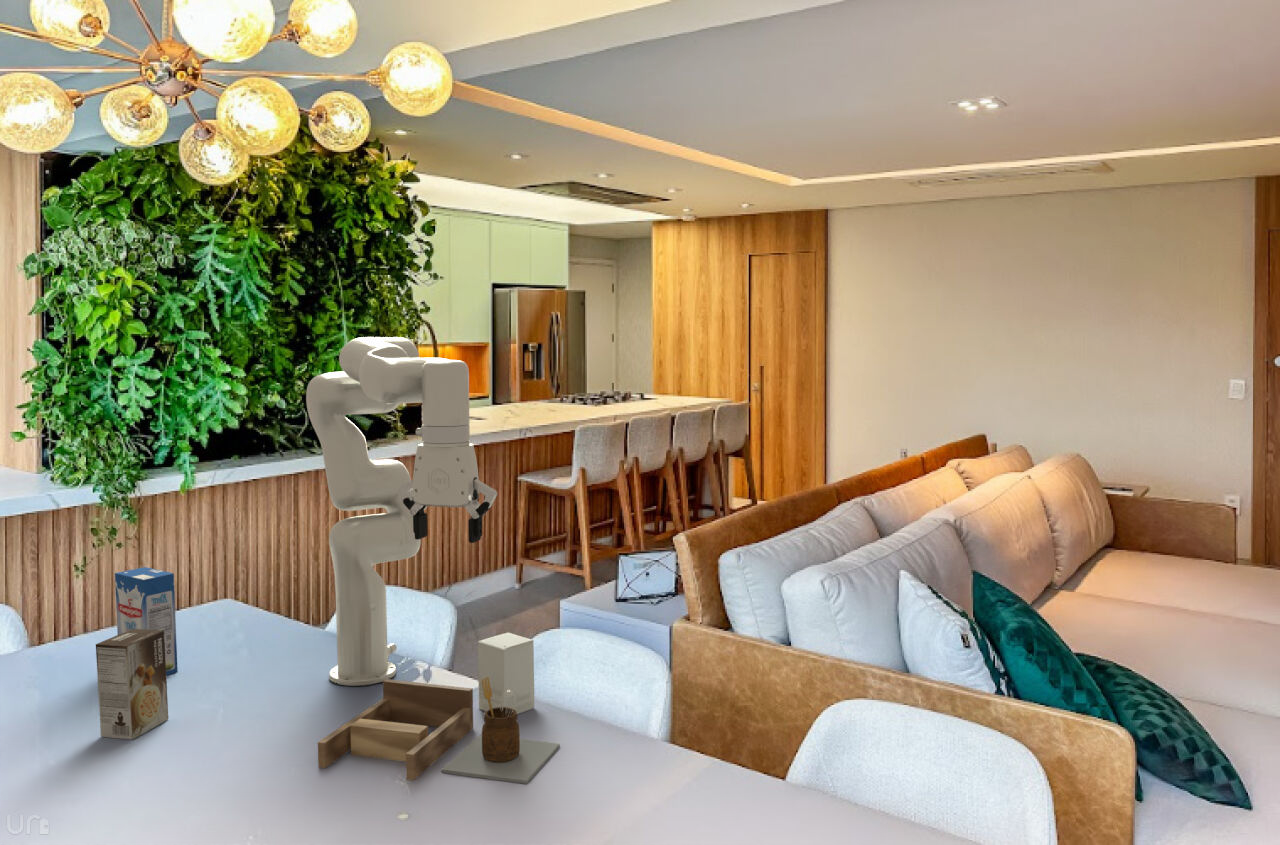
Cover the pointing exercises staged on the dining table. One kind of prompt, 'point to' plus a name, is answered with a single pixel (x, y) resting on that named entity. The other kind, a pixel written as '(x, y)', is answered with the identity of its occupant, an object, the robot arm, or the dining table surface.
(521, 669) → the supplement box
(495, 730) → the utensil holder
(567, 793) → the dining table surface
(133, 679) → the coffee box
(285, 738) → the dining table surface
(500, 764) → the slate mat
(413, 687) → the walnut u-shaped frame
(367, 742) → the oak offcut block
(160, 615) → the milk carton
